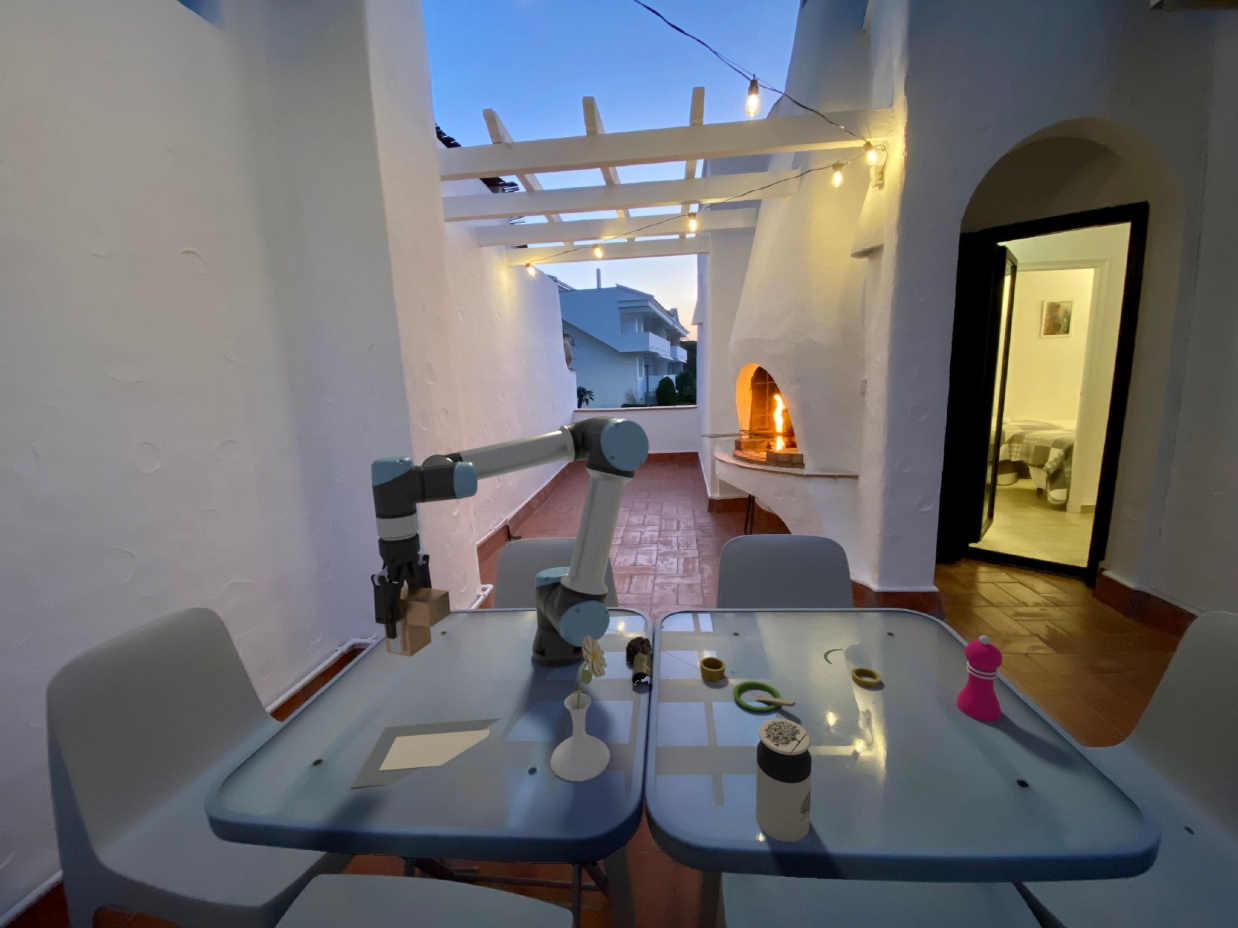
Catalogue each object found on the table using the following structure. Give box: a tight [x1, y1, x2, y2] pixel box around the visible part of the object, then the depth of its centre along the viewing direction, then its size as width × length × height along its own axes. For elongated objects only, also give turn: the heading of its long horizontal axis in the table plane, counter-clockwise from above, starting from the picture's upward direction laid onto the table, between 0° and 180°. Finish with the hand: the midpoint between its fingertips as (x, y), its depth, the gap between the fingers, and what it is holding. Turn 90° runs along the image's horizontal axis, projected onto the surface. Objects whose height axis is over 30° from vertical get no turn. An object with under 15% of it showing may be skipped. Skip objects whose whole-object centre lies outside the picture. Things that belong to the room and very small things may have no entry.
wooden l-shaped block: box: [383, 584, 451, 658], centre depth 100 cm, size 6×12×12 cm, turn 71°
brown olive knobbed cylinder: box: [625, 636, 653, 685], centre depth 124 cm, size 18×7×6 cm, turn 176°
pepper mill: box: [956, 634, 1003, 722], centre depth 99 cm, size 7×7×20 cm
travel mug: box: [755, 718, 813, 843], centre depth 76 cm, size 8×8×18 cm
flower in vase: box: [550, 635, 611, 782], centre depth 92 cm, size 13×11×25 cm
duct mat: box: [350, 717, 502, 789], centre depth 98 cm, size 26×16×1 cm, turn 94°
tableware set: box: [699, 648, 882, 713], centre depth 114 cm, size 41×28×6 cm
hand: (409, 642), depth 101 cm, fingers closed on wooden l-shaped block, 6 cm apart
